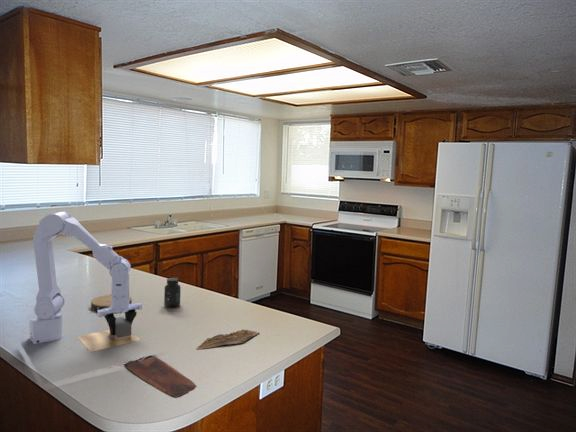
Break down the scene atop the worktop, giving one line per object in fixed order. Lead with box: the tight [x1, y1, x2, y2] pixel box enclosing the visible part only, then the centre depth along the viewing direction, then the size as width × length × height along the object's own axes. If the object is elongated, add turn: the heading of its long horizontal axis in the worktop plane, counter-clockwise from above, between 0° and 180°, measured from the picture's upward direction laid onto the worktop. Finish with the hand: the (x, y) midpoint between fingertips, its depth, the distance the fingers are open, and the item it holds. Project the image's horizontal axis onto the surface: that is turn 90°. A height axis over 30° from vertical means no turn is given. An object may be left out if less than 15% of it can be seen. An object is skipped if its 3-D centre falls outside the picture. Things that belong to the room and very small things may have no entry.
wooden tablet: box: [124, 355, 197, 398], centre depth 122 cm, size 26×2×10 cm
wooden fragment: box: [195, 329, 260, 351], centre depth 150 cm, size 26×11×1 cm, turn 127°
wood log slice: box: [90, 294, 133, 312], centre depth 180 cm, size 16×16×3 cm
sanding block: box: [110, 316, 132, 341], centre depth 145 cm, size 4×8×5 cm, turn 42°
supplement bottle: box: [163, 277, 181, 309], centre depth 183 cm, size 7×7×12 cm
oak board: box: [76, 329, 141, 353], centre depth 143 cm, size 16×15×2 cm
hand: (120, 332), depth 145 cm, fingers closed on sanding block, 4 cm apart
